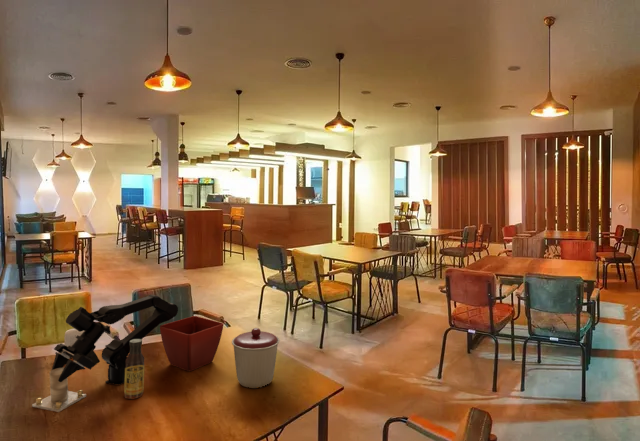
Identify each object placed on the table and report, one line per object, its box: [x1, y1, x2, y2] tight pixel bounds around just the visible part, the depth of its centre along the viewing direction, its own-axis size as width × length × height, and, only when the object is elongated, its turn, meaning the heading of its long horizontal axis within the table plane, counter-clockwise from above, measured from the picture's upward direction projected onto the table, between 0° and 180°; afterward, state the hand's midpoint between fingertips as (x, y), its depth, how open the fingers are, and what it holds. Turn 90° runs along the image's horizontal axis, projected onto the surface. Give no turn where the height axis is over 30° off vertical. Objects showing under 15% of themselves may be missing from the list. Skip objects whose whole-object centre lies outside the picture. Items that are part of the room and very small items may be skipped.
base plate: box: [31, 389, 87, 413], centre depth 139 cm, size 11×11×2 cm
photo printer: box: [64, 328, 84, 347], centre depth 178 cm, size 10×4×12 cm, turn 98°
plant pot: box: [159, 315, 224, 372], centre depth 172 cm, size 19×19×17 cm
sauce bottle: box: [123, 339, 145, 400], centre depth 143 cm, size 6×6×20 cm
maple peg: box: [48, 367, 69, 403], centre depth 138 cm, size 5×5×10 cm
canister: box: [231, 327, 281, 389], centre depth 156 cm, size 18×18×21 cm
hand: (55, 379), depth 137 cm, fingers open, 6 cm apart
